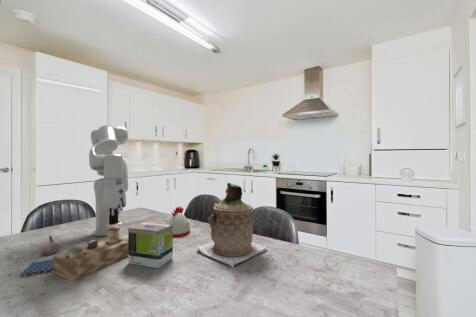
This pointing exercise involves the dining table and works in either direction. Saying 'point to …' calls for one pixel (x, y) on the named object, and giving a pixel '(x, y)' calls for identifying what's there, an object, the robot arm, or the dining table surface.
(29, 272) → the woven mat
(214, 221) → the cookie jar
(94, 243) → the dial
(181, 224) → the kitchen timer
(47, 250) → the garlic bulb
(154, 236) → the tea box
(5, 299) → the dining table surface
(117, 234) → the knob terracotta
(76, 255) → the knob sage
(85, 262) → the panel
